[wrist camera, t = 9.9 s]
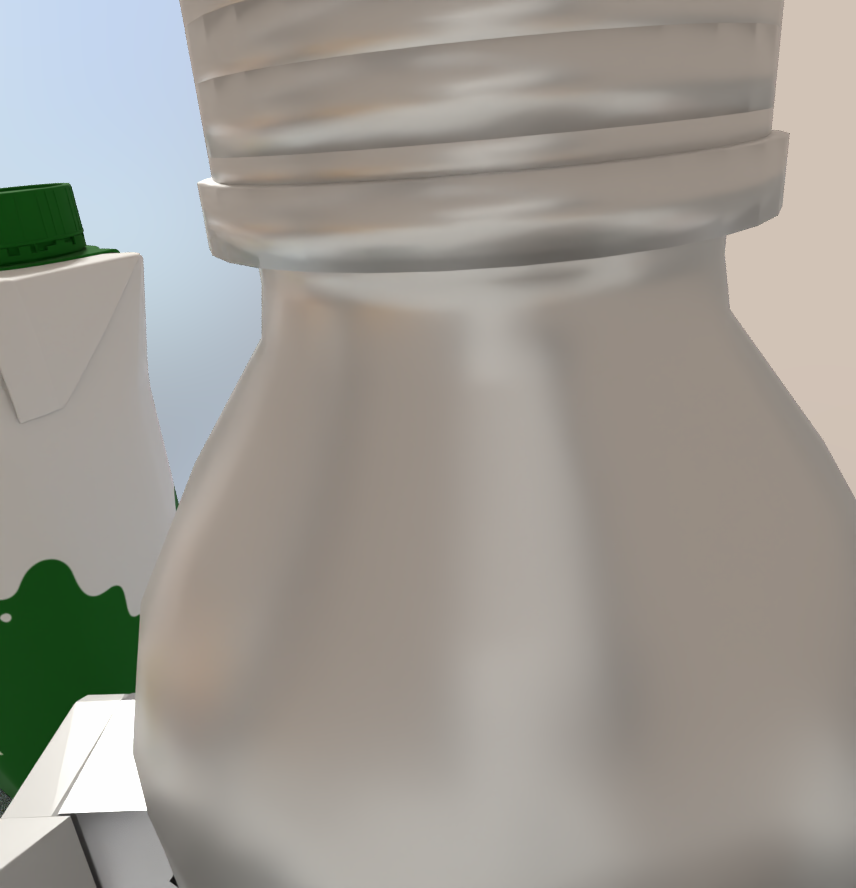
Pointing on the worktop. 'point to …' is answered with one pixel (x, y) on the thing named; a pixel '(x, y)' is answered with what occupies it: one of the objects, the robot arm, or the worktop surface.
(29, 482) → the milk carton
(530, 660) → the plastic bottle
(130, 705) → the robot arm
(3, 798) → the worktop surface
